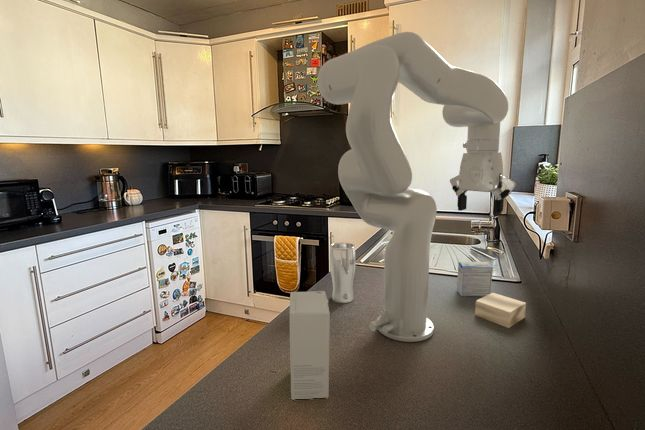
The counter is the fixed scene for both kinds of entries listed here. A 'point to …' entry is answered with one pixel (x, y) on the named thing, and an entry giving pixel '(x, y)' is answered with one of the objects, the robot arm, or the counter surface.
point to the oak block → (500, 309)
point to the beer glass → (342, 271)
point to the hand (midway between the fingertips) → (478, 212)
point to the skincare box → (309, 344)
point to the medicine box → (474, 278)
